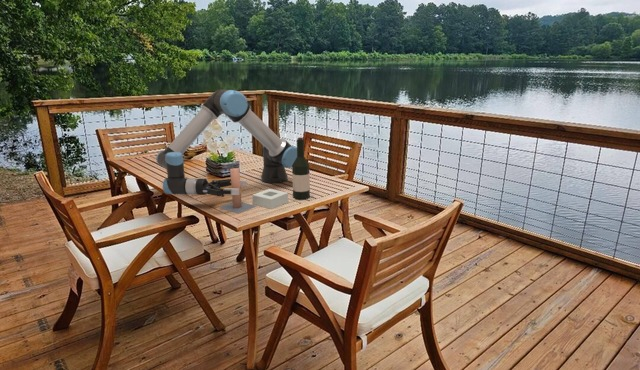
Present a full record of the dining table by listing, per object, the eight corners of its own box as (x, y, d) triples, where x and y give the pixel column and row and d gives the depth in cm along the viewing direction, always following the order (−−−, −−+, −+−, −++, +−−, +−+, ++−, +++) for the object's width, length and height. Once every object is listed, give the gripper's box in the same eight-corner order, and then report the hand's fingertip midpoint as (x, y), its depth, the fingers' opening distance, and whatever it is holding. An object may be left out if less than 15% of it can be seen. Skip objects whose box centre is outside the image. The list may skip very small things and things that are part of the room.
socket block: (252, 204, 199) (252, 194, 198) (269, 198, 208) (269, 188, 207) (271, 209, 192) (271, 199, 191) (288, 202, 202) (288, 192, 200)
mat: (217, 208, 195) (217, 207, 194) (236, 201, 204) (236, 200, 204) (238, 214, 187) (238, 213, 187) (257, 207, 196) (257, 206, 196)
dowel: (231, 207, 195) (228, 169, 190) (237, 204, 198) (234, 167, 193) (237, 208, 193) (234, 170, 188) (243, 206, 196) (241, 169, 191)
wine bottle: (292, 195, 213) (291, 136, 205) (309, 194, 214) (308, 136, 205) (293, 200, 205) (291, 139, 197) (310, 199, 206) (309, 139, 197)
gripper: (207, 186, 207) (249, 187, 205) (188, 203, 183) (235, 204, 181) (206, 171, 205) (249, 172, 203) (186, 186, 181) (234, 187, 179)
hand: (242, 187), depth 192 cm, fingers open, 13 cm apart
